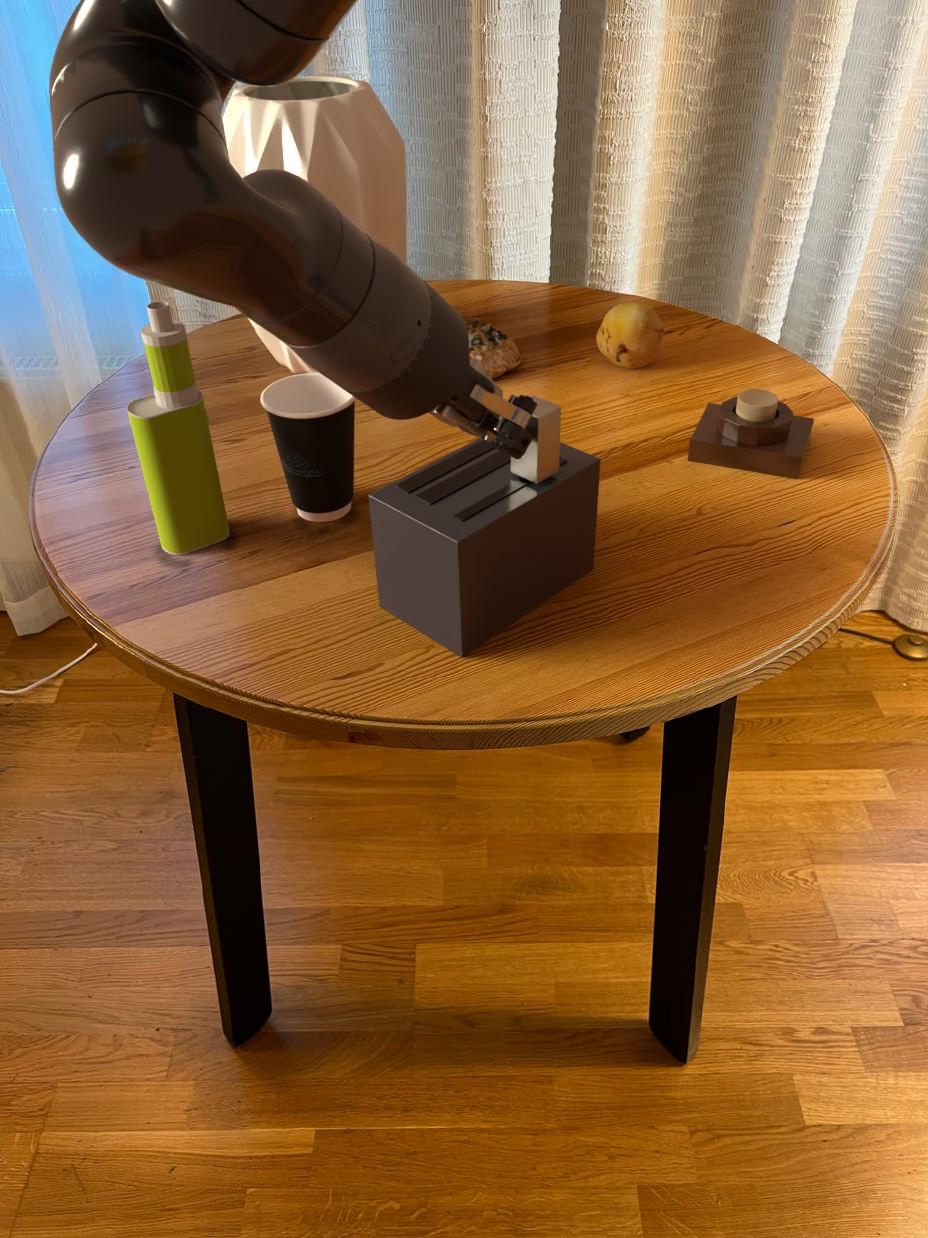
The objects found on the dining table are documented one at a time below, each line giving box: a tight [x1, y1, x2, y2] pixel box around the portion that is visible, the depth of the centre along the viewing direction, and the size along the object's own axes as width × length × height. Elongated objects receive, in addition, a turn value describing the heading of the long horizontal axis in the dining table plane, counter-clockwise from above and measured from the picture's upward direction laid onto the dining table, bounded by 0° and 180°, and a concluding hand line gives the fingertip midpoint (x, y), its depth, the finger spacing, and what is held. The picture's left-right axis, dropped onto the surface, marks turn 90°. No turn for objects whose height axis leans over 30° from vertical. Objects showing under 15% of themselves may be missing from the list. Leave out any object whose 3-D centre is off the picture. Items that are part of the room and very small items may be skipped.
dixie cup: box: [260, 373, 357, 523], centre depth 87 cm, size 8×8×11 cm
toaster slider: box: [511, 395, 562, 484], centre depth 72 cm, size 2×3×5 cm
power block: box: [687, 396, 815, 480], centre depth 95 cm, size 10×8×4 cm
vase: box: [222, 74, 408, 375], centre depth 107 cm, size 20×20×28 cm
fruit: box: [595, 301, 665, 369], centre depth 110 cm, size 7×7×10 cm
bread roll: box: [465, 318, 523, 380], centre depth 112 cm, size 11×11×5 cm
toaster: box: [368, 437, 601, 659], centre depth 77 cm, size 15×9×10 cm, turn 135°
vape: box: [126, 300, 231, 556], centre depth 81 cm, size 4×6×20 cm, turn 126°
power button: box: [735, 388, 779, 422], centre depth 93 cm, size 4×4×2 cm
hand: (518, 443), depth 71 cm, fingers closed
